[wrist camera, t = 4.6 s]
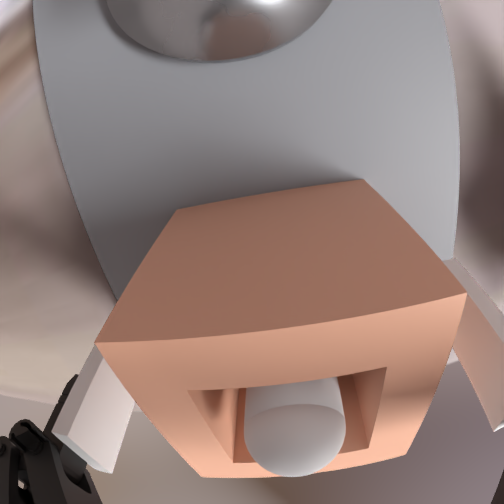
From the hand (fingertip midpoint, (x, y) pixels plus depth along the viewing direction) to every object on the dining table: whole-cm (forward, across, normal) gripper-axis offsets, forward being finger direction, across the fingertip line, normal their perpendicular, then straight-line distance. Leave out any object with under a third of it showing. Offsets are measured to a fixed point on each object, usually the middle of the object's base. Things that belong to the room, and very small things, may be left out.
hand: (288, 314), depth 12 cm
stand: (+5, 0, +7) cm, 9 cm away
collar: (+3, 0, 0) cm, 3 cm away
